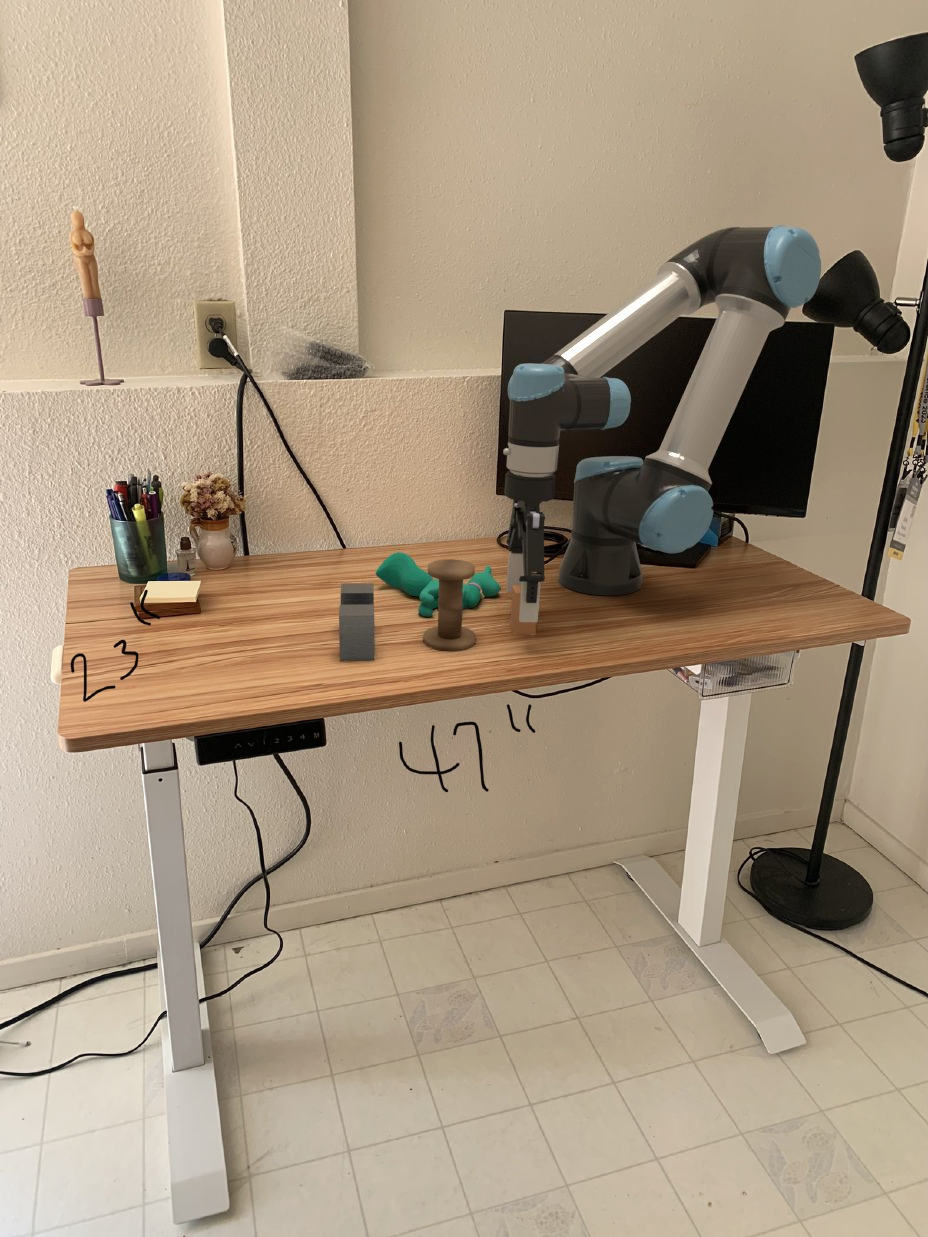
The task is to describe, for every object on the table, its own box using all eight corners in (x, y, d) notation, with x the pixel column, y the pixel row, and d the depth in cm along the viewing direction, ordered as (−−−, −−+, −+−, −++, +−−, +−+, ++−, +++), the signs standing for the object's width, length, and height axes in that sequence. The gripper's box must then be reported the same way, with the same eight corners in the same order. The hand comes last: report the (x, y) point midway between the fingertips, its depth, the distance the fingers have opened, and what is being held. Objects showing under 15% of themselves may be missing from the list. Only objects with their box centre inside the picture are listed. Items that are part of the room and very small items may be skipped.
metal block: (373, 624, 147) (373, 583, 145) (374, 660, 134) (374, 615, 132) (342, 625, 147) (341, 583, 144) (339, 660, 134) (338, 615, 131)
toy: (486, 598, 147) (509, 559, 165) (357, 574, 151) (393, 538, 169) (481, 637, 150) (504, 594, 168) (354, 612, 153) (390, 573, 171)
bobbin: (472, 630, 146) (475, 558, 142) (478, 650, 139) (481, 574, 134) (421, 631, 145) (422, 558, 141) (425, 651, 138) (426, 575, 134)
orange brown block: (531, 626, 149) (534, 585, 146) (535, 634, 146) (537, 592, 143) (510, 626, 148) (512, 585, 146) (513, 634, 145) (515, 592, 143)
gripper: (495, 455, 149) (487, 580, 156) (519, 489, 126) (508, 635, 133) (540, 456, 150) (531, 581, 157) (573, 491, 127) (560, 635, 134)
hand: (521, 606), depth 145 cm, fingers open, 13 cm apart
